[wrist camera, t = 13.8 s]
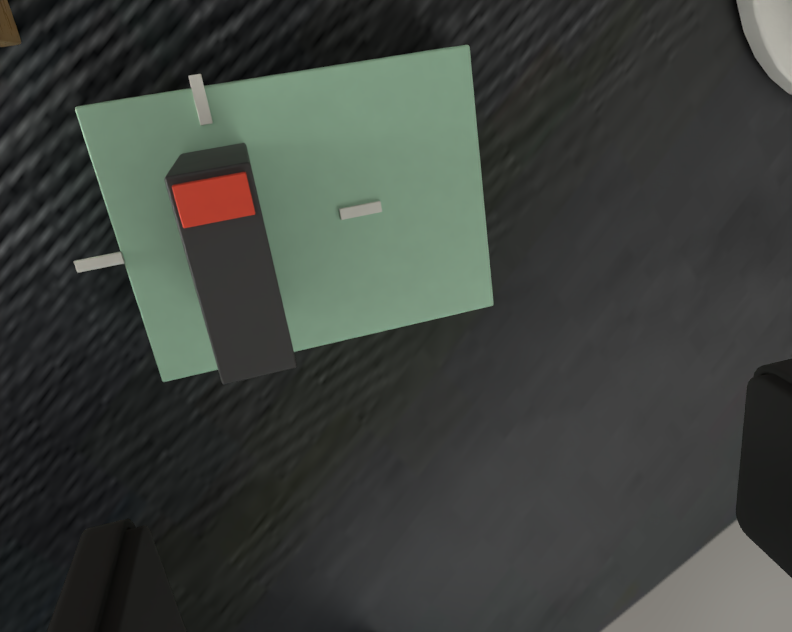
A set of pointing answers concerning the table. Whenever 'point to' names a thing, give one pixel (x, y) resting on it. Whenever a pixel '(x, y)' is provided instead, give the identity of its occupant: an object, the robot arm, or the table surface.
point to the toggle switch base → (308, 196)
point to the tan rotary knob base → (7, 26)
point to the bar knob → (230, 261)
